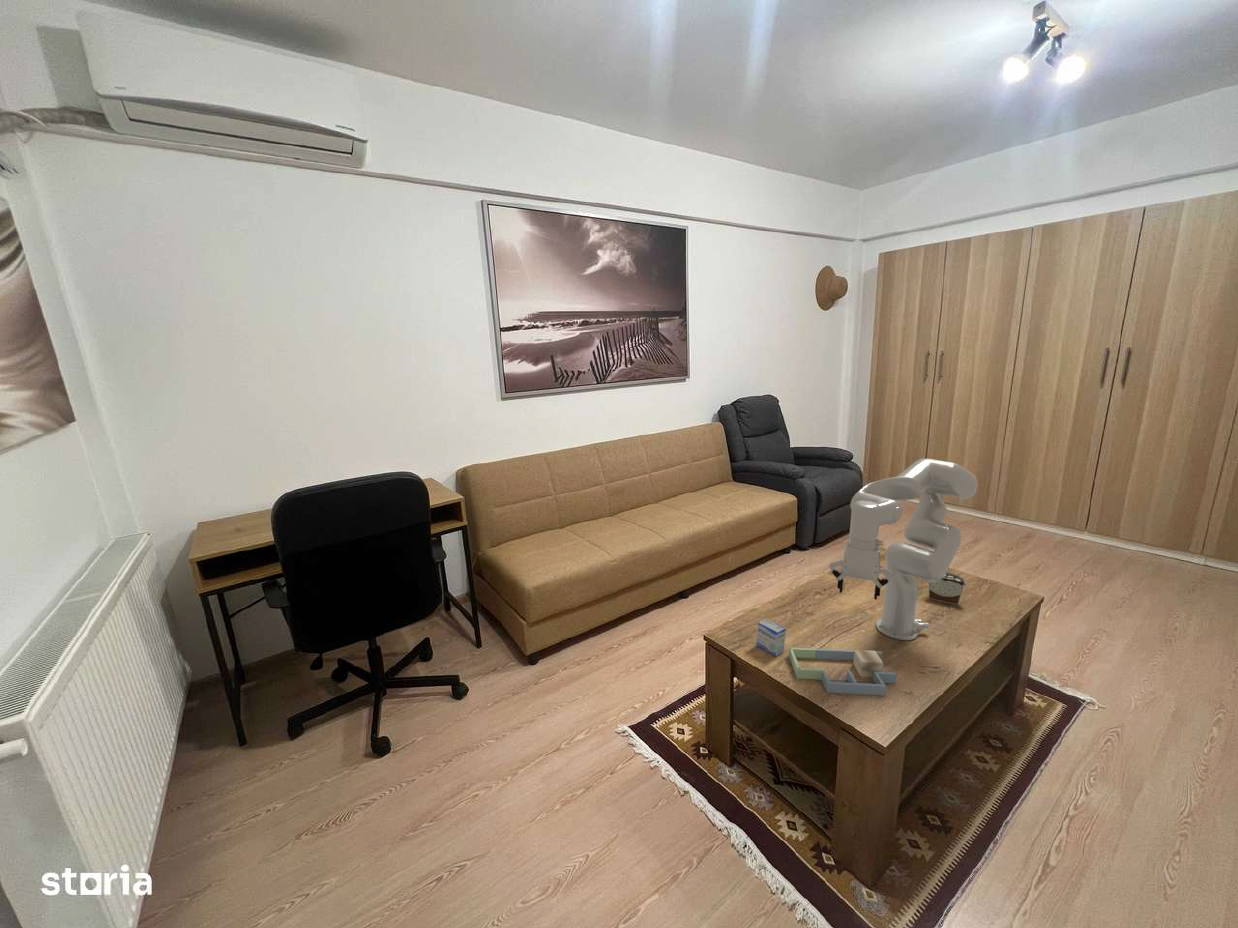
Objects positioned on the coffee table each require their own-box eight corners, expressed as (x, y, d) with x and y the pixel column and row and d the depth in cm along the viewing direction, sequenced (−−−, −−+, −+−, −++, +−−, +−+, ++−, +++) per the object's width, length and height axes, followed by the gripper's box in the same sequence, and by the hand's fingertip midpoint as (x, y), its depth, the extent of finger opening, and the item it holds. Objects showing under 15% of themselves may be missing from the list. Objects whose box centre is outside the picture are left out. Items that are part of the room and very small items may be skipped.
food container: (962, 598, 189) (965, 574, 186) (962, 605, 184) (966, 581, 181) (924, 591, 195) (927, 567, 193) (924, 597, 190) (927, 573, 188)
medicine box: (755, 645, 163) (757, 622, 161) (764, 640, 165) (765, 617, 163) (776, 657, 156) (777, 632, 154) (784, 651, 159) (786, 627, 157)
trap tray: (880, 659, 154) (881, 651, 153) (904, 696, 138) (905, 687, 137) (788, 655, 157) (789, 647, 156) (801, 691, 141) (802, 682, 140)
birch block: (873, 664, 152) (875, 650, 151) (881, 677, 146) (883, 662, 145) (853, 664, 152) (854, 649, 151) (860, 676, 147) (861, 661, 145)
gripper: (895, 542, 146) (890, 594, 150) (832, 533, 154) (828, 583, 158) (896, 551, 139) (889, 606, 143) (830, 541, 148) (826, 593, 152)
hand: (857, 594), depth 151 cm, fingers open, 9 cm apart
